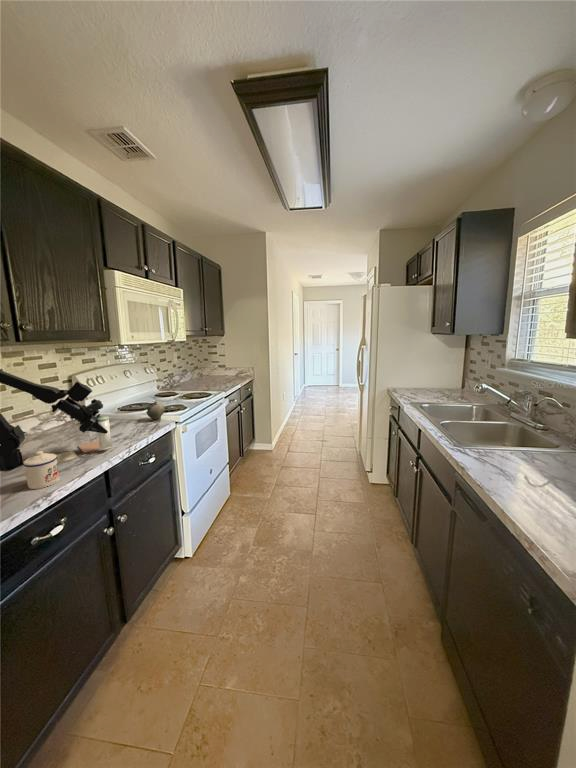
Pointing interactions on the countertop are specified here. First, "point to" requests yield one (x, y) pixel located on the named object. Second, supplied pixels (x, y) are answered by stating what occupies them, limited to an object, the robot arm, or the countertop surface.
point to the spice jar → (104, 438)
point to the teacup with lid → (41, 470)
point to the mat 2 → (90, 446)
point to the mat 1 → (66, 456)
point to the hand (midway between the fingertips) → (107, 430)
